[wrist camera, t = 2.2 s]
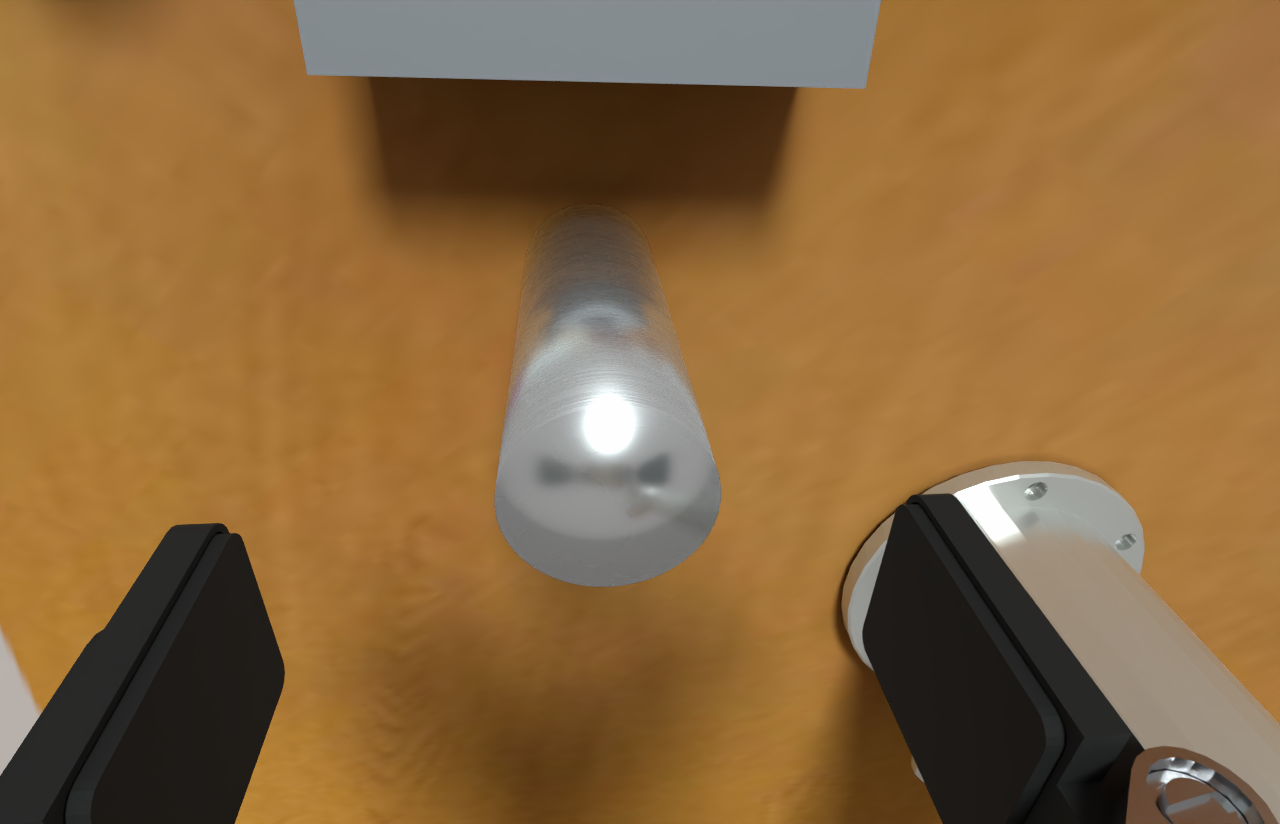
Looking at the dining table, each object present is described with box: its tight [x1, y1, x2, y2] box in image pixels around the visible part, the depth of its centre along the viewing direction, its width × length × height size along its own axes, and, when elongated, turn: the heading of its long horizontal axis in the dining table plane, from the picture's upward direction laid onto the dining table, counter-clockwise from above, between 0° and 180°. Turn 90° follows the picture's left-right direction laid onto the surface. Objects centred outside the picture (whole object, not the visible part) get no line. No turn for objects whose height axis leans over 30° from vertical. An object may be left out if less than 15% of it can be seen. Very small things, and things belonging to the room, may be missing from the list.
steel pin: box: [495, 203, 721, 587], centre depth 18 cm, size 4×4×12 cm
